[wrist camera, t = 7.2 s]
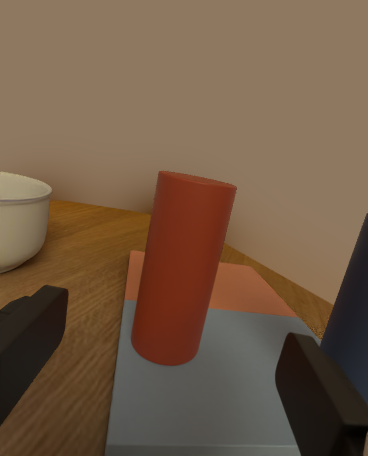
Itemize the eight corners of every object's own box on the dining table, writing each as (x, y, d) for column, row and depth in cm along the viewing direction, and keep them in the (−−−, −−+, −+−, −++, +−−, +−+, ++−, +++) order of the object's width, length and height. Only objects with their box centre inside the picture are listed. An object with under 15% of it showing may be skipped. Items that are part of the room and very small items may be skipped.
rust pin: (192, 324, 22) (224, 181, 19) (204, 368, 17) (249, 190, 15) (131, 318, 21) (156, 168, 18) (128, 363, 16) (161, 174, 14)
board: (249, 273, 38) (251, 266, 38) (413, 462, 15) (421, 447, 15) (129, 257, 35) (130, 249, 35) (103, 462, 12) (106, 444, 12)
